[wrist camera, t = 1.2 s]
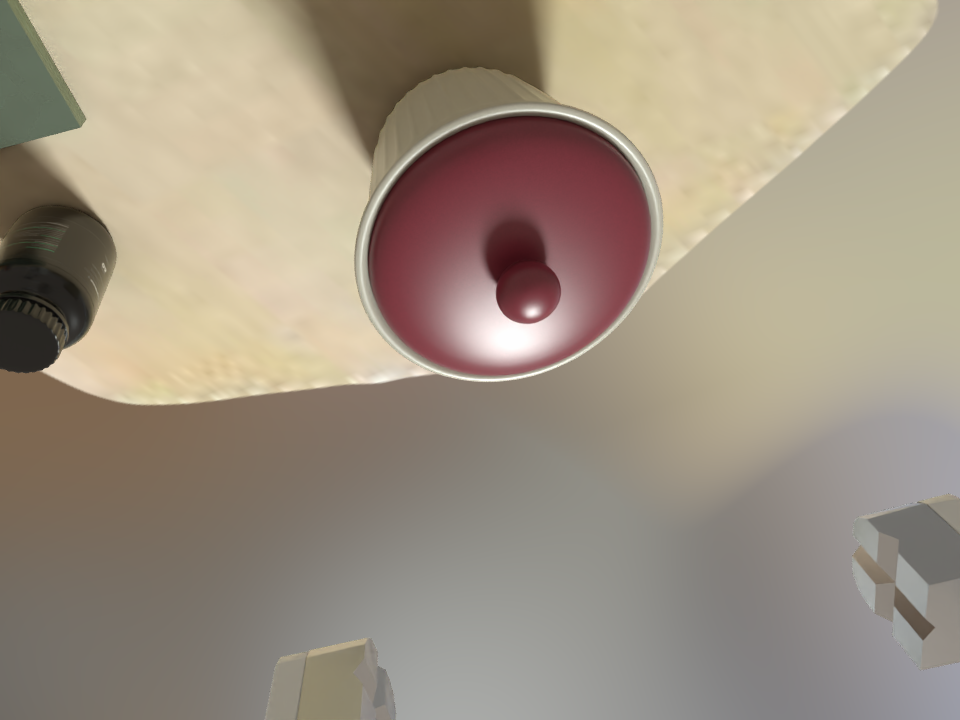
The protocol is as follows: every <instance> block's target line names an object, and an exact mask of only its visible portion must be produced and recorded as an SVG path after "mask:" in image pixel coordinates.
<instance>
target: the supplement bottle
mask: <svg viewBox="0 0 960 720" xmlns="http://www.w3.org/2000/svg"><path fill="white" fill-rule="evenodd" d="M115 264H116V248H115V245H114V242H113V240H112V238H111V236H110V235H109V233H108V232H107V231H106V229H105V228H104V227H103V226H102V225H101V224H100V223H99V222H97V221H96V220H95V219H93V218H92V217H90V216H89V215H87V214H85V213H83V212H81V211H78V210H76V209H72V208H69V207H63V206H42V207H38V208H35V209H32V210H30V211H28V212H26V213H24V214H23V215H22V216H21V217H19V218H18V219H17V221H16V222H15V223H14V224H13V226H12V227H11V228H10V230H9V231H8V233H7V234H6V236H5V237H4V239H3V240H2V242H1V243H0V369H5V370H7V371H14V372H17V373H20V372H23V373H29V372H36V371H41V370H43V369H44V368H48V367H49V366H50V365H51V364H53V363H54V362H55V361H56V359H58V357H59V355H60V353H61V351H62V350H63V349H66V348H68V347H70V346H72V345H74V344H76V343H77V342H79V341H80V340H81V339H82V338H83V337H84V336H85V335H86V334H87V333H88V331H89V329H90V327H91V325H92V323H93V321H94V318H95V316H96V313H97V311H98V308H99V306H100V303H101V301H102V298H103V296H104V293H105V291H106V288H107V286H108V283H109V281H110V278H111V276H112V273H113V270H114V267H115Z"/></svg>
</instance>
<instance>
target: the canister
mask: <svg viewBox="0 0 960 720" xmlns="http://www.w3.org/2000/svg"><path fill="white" fill-rule="evenodd" d="M662 235H663V209H662V202H661V197H660V193H659V189H658V186H657V183H656V180H655V177H654V175H653V173H652V171H651V169H650V167H649V165H648V163H647V162H646V160H645V159H644V157H643V156H642V154H641V153H640V151H639V150H638V149H637V148H636V147H635V145H634V144H633V143H632V142H631V141H630V140H629V139H628V138H627V137H626V136H625V135H624V134H623V133H621V132H620V131H619V130H618V129H616V128H615V127H614V126H612V125H611V124H609V123H608V122H606V121H604V120H603V119H601V118H599V117H597V116H595V115H593V114H591V113H589V112H586V111H584V110H581V109H578V108H575V107H571V106H567V105H563V104H561V103H559V102H558V101H556V100H555V99H553V98H552V97H550V96H549V95H547V94H545V93H544V92H542V91H540V90H539V89H537V88H535V87H534V86H532V85H530V84H528V83H526V82H524V81H523V80H521V79H519V78H518V77H516V76H514V75H511V74H505V73H503V72H501V71H500V70H497V69H485V68H483V67H476V68H468V67H462V68H460V69H455V70H451V69H449V70H447V71H446V72H444V73H441V74H435V75H433V76H432V77H431V78H429V79H427V80H426V81H423V82H420V83H419V84H418V85H417V86H416V87H415V88H414V89H412V90H411V91H408V92H407V93H406V95H405V96H404V97H403V99H402V100H401V101H399V102H398V103H396V105H395V108H394V110H393V111H392V112H391V114H389V115H388V116H387V118H386V123H385V125H384V127H383V128H382V129H381V131H380V133H379V139H378V143H377V145H376V147H375V152H374V159H373V166H372V175H371V183H370V192H369V201H368V203H367V205H366V208H365V210H364V213H363V215H362V218H361V221H360V225H359V228H358V233H357V238H356V245H355V258H354V259H355V276H356V283H357V288H358V292H359V295H360V299H361V302H362V304H363V307H364V309H365V311H366V313H367V315H368V317H369V319H370V321H371V322H372V324H373V326H374V327H375V329H376V330H377V331H378V333H379V334H380V335H381V336H382V337H383V339H384V340H385V341H386V342H387V343H388V344H389V345H390V346H391V347H392V348H393V349H395V350H396V351H397V352H398V353H399V354H401V355H402V356H403V357H405V358H406V359H408V360H409V361H411V362H413V363H414V364H416V365H418V366H420V367H422V368H424V369H426V370H429V371H431V372H434V373H437V374H440V375H443V376H446V377H450V378H455V379H460V380H468V381H477V382H496V381H508V380H515V379H521V378H525V377H530V376H533V375H537V374H540V373H543V372H546V371H549V370H552V369H554V368H557V367H559V366H561V365H563V364H566V363H568V362H570V361H572V360H573V359H575V358H577V357H579V356H580V355H582V354H583V353H585V352H587V351H588V350H590V349H591V348H593V347H594V346H595V345H597V344H598V343H599V342H601V341H602V340H603V339H604V338H606V337H607V336H608V335H609V334H610V333H611V332H612V331H613V330H614V329H615V328H616V327H617V326H618V325H619V324H620V323H621V322H622V321H623V320H624V319H625V318H626V316H627V315H628V314H629V313H630V311H631V310H632V309H633V308H634V306H635V305H636V303H637V302H638V300H639V299H640V297H641V296H642V294H643V292H644V290H645V289H646V287H647V285H648V283H649V281H650V279H651V276H652V274H653V271H654V269H655V266H656V263H657V260H658V256H659V253H660V248H661V243H662Z"/></svg>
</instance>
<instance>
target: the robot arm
mask: <svg viewBox="0 0 960 720" xmlns="http://www.w3.org/2000/svg"><path fill="white" fill-rule="evenodd" d="M853 536H854V538H855V539H856V540H857V541H858V542H859V543H860V546H859V548H858V549H857V550H856V551H855V553H854V554H853V555H852V572H853V575H854V578H855V581H856V585H857V588H858V589H859V591H860V593H861V595H862V597H863V599H864V600H865V602H866V603H867V604H868V606H869V607H870V608H871V609H872V611H873V612H874V613H875V614H877V615H879V616H881V617H883V618H885V619H887V620H890V621H892V622H893V629H892V636H893V637H894V639H895V640H896V641H897V642H898V643H899V645H900V646H901V647H902V649H903V650H904V651H905V652H906V653H907V655H908V656H909V657H910V658H911V660H912V661H913V662H914V663H915V665H916V666H917V667H918V668H919V670H925V669H929V668H934V667H939V666H944V665H948V664H953V663H958V662H960V499H959V498H958V497H956V496H954V495H951V494H946V495H942V496H938V497H934V498H930V499H926V500H922V501H918V502H917V503H910V504H906V505H902V506H898V507H894V508H890V509H887V510H883V511H879V512H875V513H871V514H867V515H863V516H859V517H857V518H856V520H855V522H854V523H853ZM377 663H378V651H377V649H376V647H375V645H374V643H373V640H372V639H371V638H364V639H360V640H355V641H350V642H345V643H341V644H336V645H332V646H327V647H323V648H318V649H313V650H310V651H307V652H302V653H298V654H293V655H288V656H284V657H281V658H280V659H279V661H278V663H277V665H276V666H275V670H274V676H273V680H272V685H271V690H270V695H269V700H268V705H267V710H266V715H265V720H396V710H395V702H394V694H393V690H392V687H391V683H390V680H389V677H388V675H387V672H386V670H385V669H383V668H381V667H379V666H378V664H377Z"/></svg>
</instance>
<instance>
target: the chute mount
mask: <svg viewBox="0 0 960 720" xmlns="http://www.w3.org/2000/svg"><path fill="white" fill-rule="evenodd" d="M85 120H86V118H85V116H84V114H83V113H82V111H81V109H80V107H79V106H78V104H77V102H76V100H75V99H74V97H73V95H72V93H71V92H70V90H69V88H68V86H67V85H66V83H65V81H64V80H63V78H62V76H61V74H60V73H59V71H58V69H57V67H56V66H55V64H54V62H53V60H52V59H51V57H50V55H49V53H48V52H47V50H46V48H45V46H44V45H43V43H42V41H41V39H40V38H39V36H38V34H37V33H36V31H35V29H34V27H33V26H32V24H31V22H30V20H29V19H28V17H27V15H26V13H25V12H24V10H23V8H22V6H21V5H20V3H19V1H18V0H0V149H1V148H5V147H8V146H12V145H16V144H20V143H24V142H27V141H31V140H35V139H39V138H42V137H46V136H50V135H54V134H58V133H61V132H65V131H69V130H73V129H77V128H80V127H81V126H82V125H83V123H84V122H85Z"/></svg>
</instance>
